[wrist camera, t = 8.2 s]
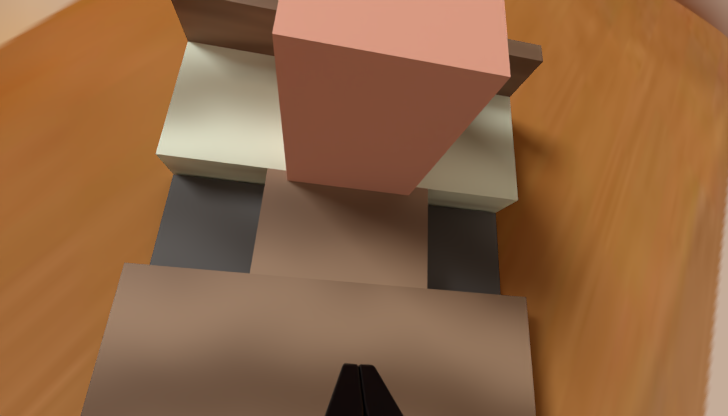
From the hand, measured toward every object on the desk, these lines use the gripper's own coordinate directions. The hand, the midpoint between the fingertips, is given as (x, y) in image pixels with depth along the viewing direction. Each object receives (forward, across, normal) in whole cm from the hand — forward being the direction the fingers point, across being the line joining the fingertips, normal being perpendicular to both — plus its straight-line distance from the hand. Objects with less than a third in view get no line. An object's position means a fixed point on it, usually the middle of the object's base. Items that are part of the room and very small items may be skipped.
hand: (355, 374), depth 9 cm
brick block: (+12, 0, -4) cm, 12 cm away
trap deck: (+9, 0, +3) cm, 9 cm away
